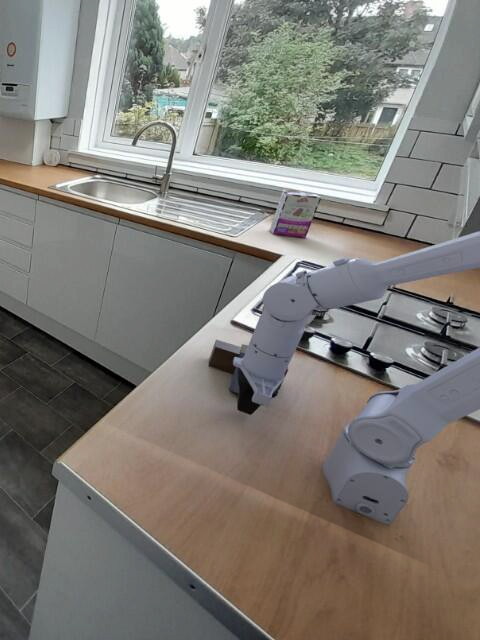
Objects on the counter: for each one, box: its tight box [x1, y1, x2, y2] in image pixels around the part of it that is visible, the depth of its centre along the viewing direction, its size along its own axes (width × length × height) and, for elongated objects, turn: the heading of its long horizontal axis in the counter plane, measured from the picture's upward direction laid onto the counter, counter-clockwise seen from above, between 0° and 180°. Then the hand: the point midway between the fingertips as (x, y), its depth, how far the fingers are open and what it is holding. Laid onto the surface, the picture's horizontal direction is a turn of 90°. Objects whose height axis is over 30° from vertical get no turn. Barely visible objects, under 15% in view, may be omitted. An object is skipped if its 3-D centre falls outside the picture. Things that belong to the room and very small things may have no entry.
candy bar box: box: [269, 190, 322, 239], centre depth 157 cm, size 11×5×16 cm, turn 73°
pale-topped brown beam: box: [207, 339, 289, 391], centre depth 81 cm, size 3×12×6 cm, turn 58°
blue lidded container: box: [228, 343, 249, 394], centre depth 76 cm, size 8×4×10 cm, turn 148°
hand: (244, 410), depth 71 cm, fingers closed
